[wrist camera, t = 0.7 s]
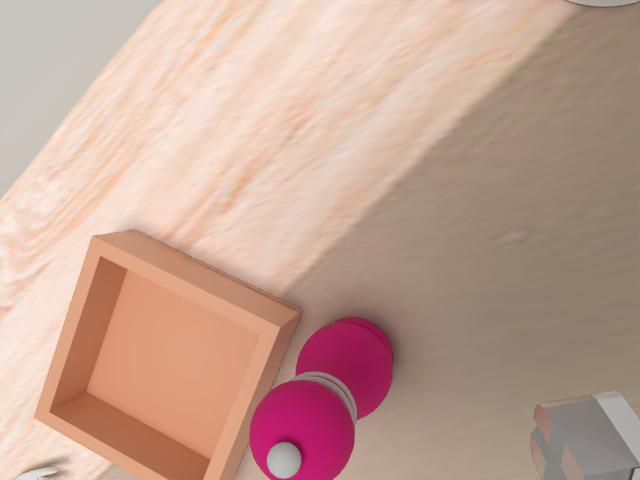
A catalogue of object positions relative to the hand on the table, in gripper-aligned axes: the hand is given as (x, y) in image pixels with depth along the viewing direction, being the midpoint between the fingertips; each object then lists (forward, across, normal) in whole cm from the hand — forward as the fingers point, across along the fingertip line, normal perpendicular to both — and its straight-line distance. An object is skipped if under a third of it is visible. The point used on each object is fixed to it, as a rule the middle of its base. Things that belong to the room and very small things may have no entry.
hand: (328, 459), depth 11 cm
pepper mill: (+28, -4, +26) cm, 38 cm away
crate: (+33, +11, +27) cm, 44 cm away
